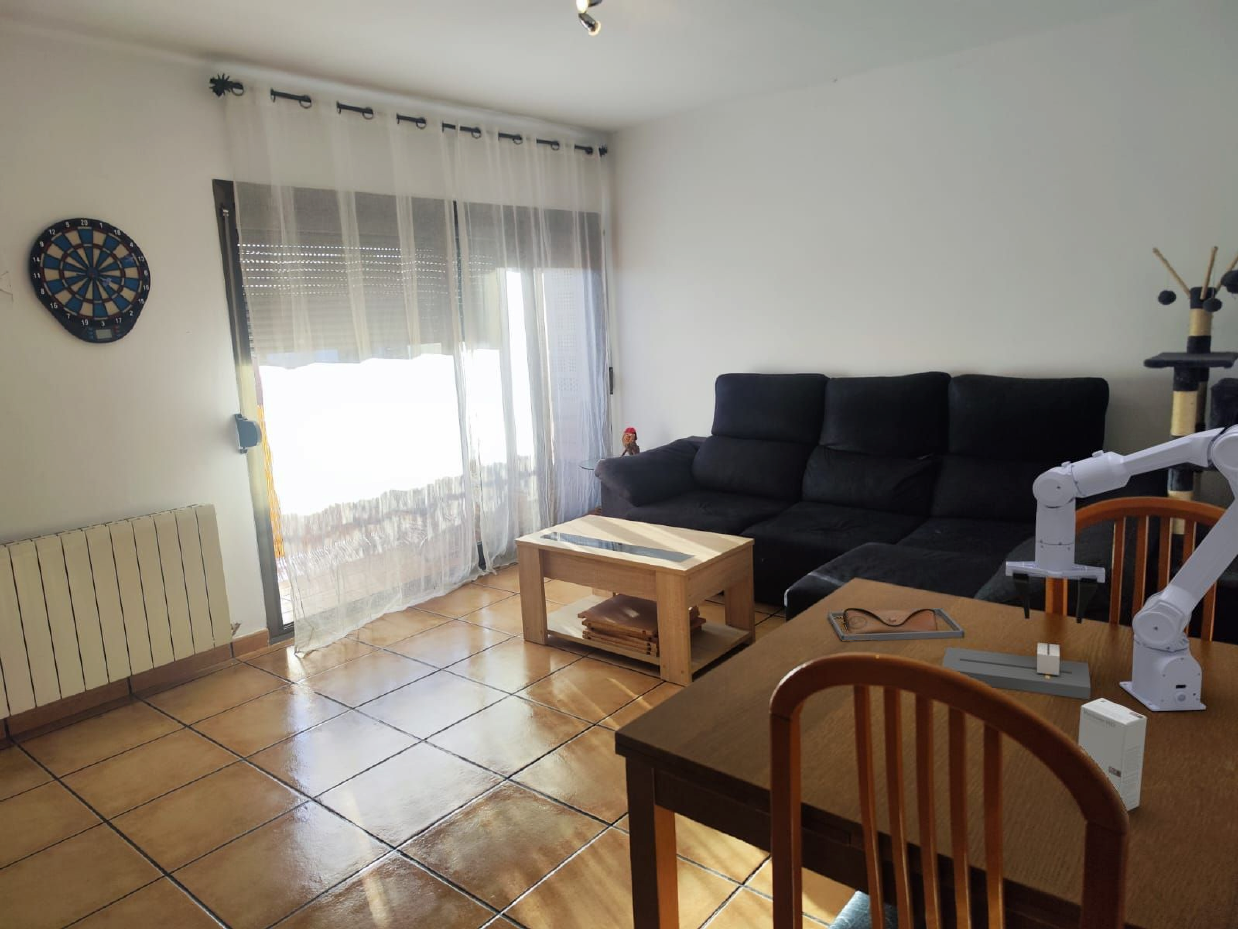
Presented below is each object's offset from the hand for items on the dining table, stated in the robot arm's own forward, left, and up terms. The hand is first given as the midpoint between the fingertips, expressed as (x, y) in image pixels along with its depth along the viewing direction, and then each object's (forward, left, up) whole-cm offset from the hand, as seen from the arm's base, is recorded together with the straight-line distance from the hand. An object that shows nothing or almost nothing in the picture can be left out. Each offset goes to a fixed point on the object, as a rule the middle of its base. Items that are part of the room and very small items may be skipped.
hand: (1052, 619), depth 140 cm
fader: (-3, +2, -7) cm, 8 cm away
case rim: (+23, +20, -9) cm, 32 cm away
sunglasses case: (+22, +21, -10) cm, 32 cm away
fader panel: (-2, +7, -9) cm, 12 cm away
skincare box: (-38, +10, -10) cm, 40 cm away
